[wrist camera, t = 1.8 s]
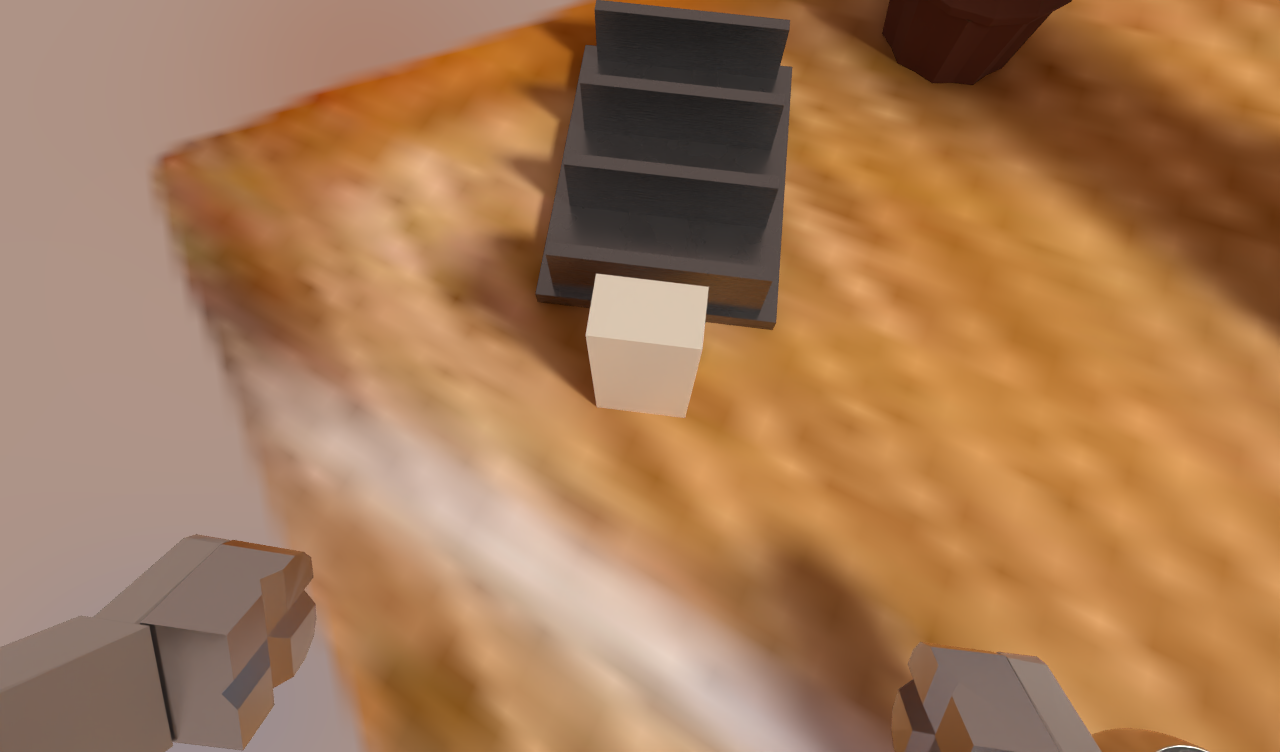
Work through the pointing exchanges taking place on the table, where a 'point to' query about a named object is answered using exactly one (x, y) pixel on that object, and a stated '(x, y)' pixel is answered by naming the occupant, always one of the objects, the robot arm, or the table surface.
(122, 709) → the robot arm
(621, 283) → the tall cream block
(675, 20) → the dish rack
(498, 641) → the table surface
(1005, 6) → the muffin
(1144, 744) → the goblet set
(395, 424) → the table surface
